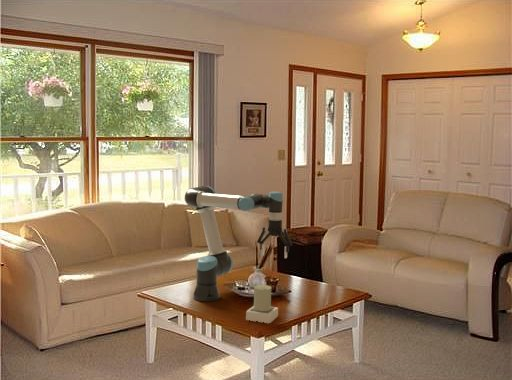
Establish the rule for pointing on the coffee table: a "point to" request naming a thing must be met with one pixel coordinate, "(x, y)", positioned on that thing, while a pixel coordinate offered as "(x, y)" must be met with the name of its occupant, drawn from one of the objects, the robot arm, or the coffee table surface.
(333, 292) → the coffee table surface
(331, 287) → the coffee table surface
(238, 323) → the coffee table surface
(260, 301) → the can
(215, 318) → the coffee table surface
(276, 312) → the stand
